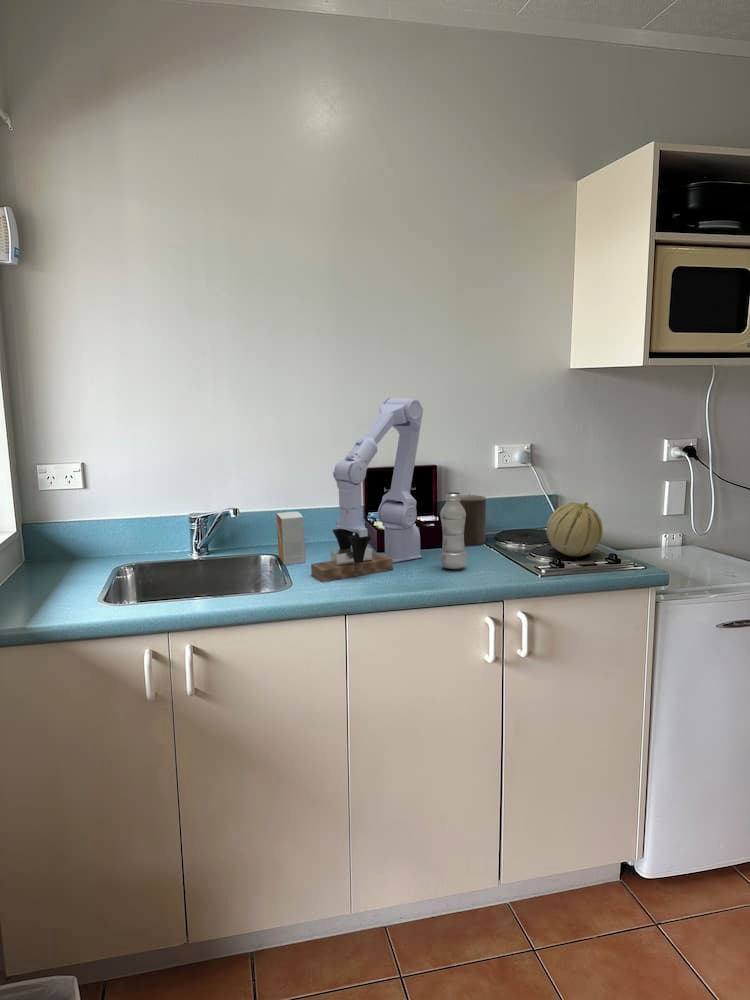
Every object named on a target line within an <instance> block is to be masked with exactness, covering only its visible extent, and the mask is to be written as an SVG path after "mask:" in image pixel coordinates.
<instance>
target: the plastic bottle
mask: <svg viewBox="0 0 750 1000" xmlns="http://www.w3.org/2000/svg"><path fill="white" fill-rule="evenodd" d="M460 495H461V492H458V491H457V492H456V491H451V492H449V491H448V492H445V501H446V502H445V504H444V505H443V506H442V508H441V509H440V515H439V517H440V522H441V527H442V528H441V530H442V549H441V554H440V562H441V565H442V567H443V568H444V569H446V570H460V569H464V568H465V566H466V564H467V553H466V549H465V547H466V546H465V545H464V525H465V517H466V512H465V509H464V508H463V506H462V505H461V504H460V500H461V498H460Z"/></svg>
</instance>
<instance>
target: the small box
mask: <svg viewBox="0 0 750 1000" xmlns="http://www.w3.org/2000/svg"><path fill="white" fill-rule="evenodd" d="M304 520H305V518H304V516H303V515H302V513H301V512H299V511H286V512H277V513H276V525H277V526H276V530H277V546H278V547H277V549H278V550H277V551H278V558H279V559H280V561H281V563H282V564H283V565H284V566H286V565H288V566H289V565H294V564H295V565H297V564H304V563H306V562H307V560H306V542H305V541H306V539H305V537H306V536H305V521H304Z"/></svg>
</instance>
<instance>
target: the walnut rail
mask: <svg viewBox="0 0 750 1000" xmlns="http://www.w3.org/2000/svg"><path fill="white" fill-rule="evenodd" d="M383 554H384V553H382V552H378V553H372V560H371V561H368V562H362V563H360V562H359V563H352V564H347V565H344V566H336V565H335V564H333V563H331V560H328V561H322V562H315V563H311V564H310V566H311V576H312V577H313V578H315V579H317V580H319V581H320V582H322V583H326V582H325V581H327V582H332V581H338V580H344V579H348V578H354V577H360V576H365V575H372V574H377V573H383V572H389V571H393V570H394V566H393V565H394V562H393V559H392V558H390V557H388V556H385V555H383ZM343 578H344V579H343Z"/></svg>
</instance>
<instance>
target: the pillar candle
mask: <svg viewBox="0 0 750 1000" xmlns="http://www.w3.org/2000/svg"><path fill="white" fill-rule="evenodd" d="M460 498H461V500H460V504H461V505H462V506H463V508H464V509H465V512H466V517H465V525H464V546H468V547H469V546H471V547H474V546H481V545H485V544H486V518H487V517H486V515H487V513H486V512H487V509H486V508H487V498H486V496H484V495H476V494H475V495H474V494H470V492H469V493H468V495H467V494H460Z"/></svg>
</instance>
